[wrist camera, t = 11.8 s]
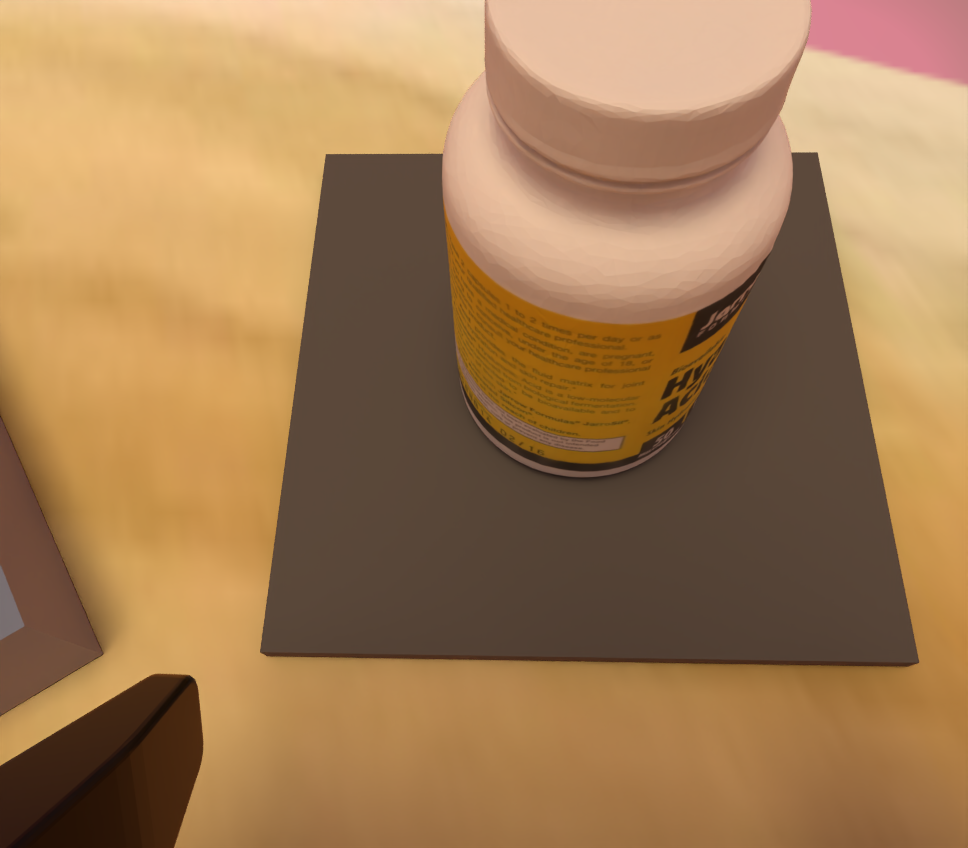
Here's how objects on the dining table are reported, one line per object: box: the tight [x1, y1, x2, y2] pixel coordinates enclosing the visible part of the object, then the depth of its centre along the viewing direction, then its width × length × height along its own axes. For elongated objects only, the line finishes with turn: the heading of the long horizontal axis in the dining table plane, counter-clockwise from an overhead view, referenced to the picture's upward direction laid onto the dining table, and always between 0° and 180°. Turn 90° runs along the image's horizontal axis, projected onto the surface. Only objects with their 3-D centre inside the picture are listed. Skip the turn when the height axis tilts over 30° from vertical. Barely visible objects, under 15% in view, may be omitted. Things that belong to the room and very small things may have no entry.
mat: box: [260, 153, 919, 666], centre depth 19 cm, size 13×13×1 cm
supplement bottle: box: [442, 0, 812, 477], centre depth 14 cm, size 5×5×10 cm
